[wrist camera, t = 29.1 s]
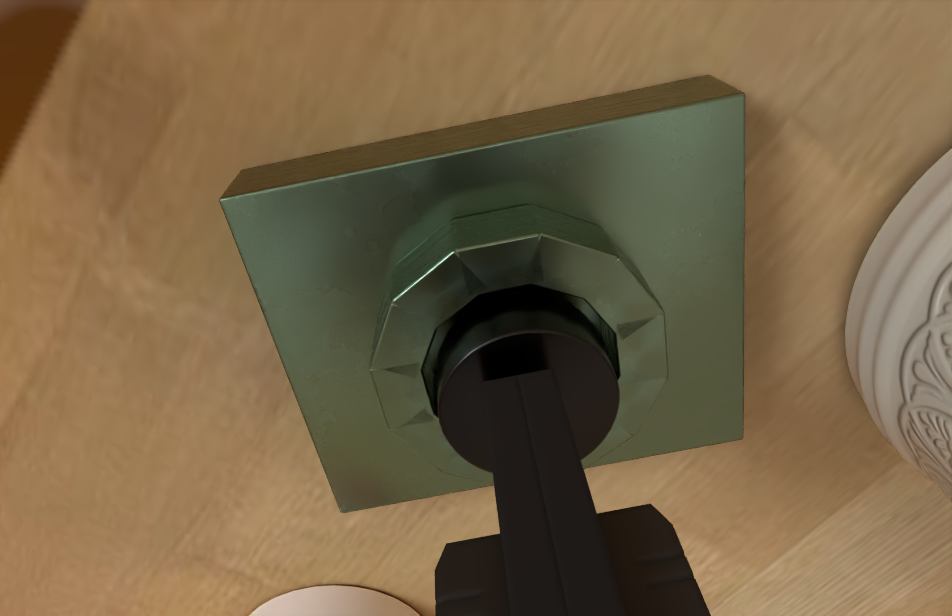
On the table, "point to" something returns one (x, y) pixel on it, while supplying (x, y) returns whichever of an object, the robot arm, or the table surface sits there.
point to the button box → (506, 272)
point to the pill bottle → (334, 603)
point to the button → (524, 368)
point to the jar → (909, 327)
